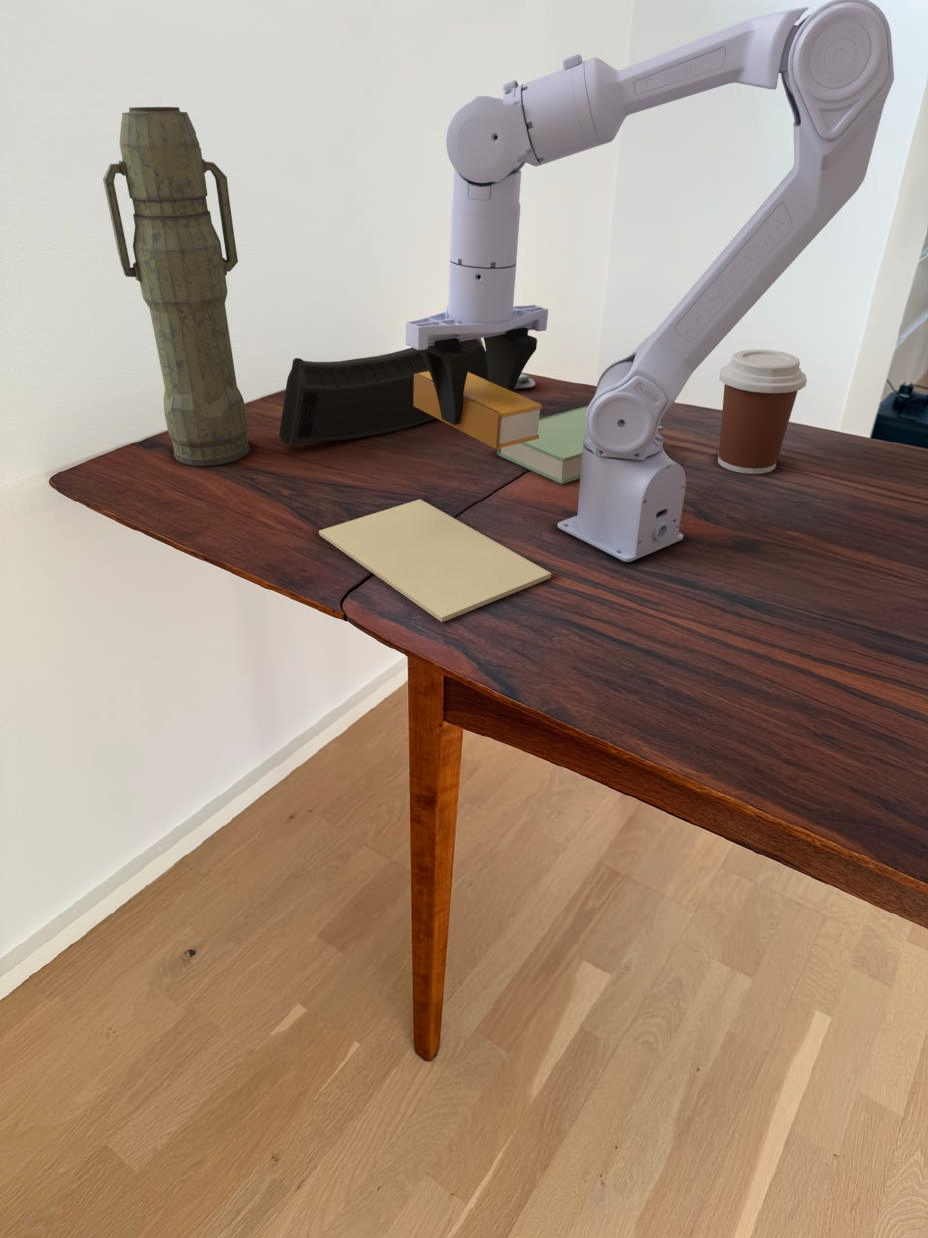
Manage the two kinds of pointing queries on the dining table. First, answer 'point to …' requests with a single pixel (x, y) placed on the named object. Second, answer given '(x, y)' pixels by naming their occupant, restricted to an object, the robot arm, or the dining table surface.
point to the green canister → (182, 279)
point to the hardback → (554, 447)
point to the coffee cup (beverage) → (757, 408)
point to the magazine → (359, 395)
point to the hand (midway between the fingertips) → (474, 416)
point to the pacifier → (526, 379)
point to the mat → (434, 558)
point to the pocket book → (484, 411)
